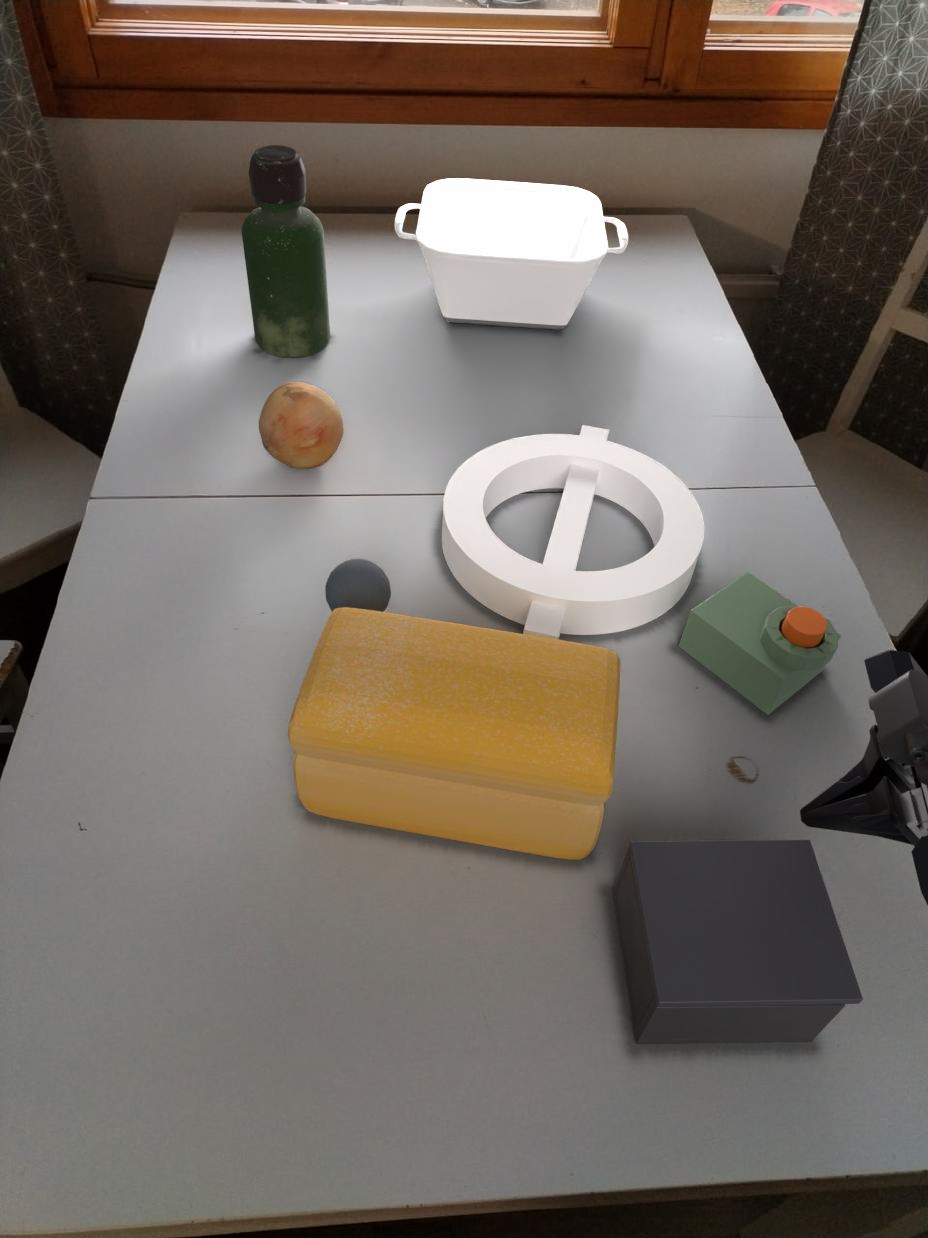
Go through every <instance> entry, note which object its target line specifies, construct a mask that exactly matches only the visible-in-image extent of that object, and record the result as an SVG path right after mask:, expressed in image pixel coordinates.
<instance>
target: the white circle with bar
mask: <svg viewBox="0 0 928 1238" xmlns="http://www.w3.org/2000/svg"><path fill="white" fill-rule="evenodd" d="M609 434H610V429H606V428H601V427H595V426H592V425H591V426H590V425H586V424H585V425H584V424H582V426H581V429H580V432H579V435H578V434H572V433H571V434H568V433H539V434H531V435H523V436H519V437H513V438H510V439H506V440H503V441H500V442H497V443H494V444H492V445H489V446H487V447H484V448H483V449H481V450H479V451H478V452H476V453H474V454H473V455H471V456H470V457H469V458H467V459H466V460H465V461H464V462H462V463H461V465H460V466H459V467H458V468H457V469H456V470H455V471H454V472H453V474H452V476H451V477H450V478H449V481H448V483H447V485H446V488H445V491H444V494H443V501H442V523H441V525H442V526H441V548H442V553H443V556H444V560H445V562H446V564H447V566H448V568H449V570H450V572H451V574H452V575H453V577H454V578H455V579H456V581H457V583H459V584H460V586H461V587H462V588H463V589H464V590H465V591H466V592H467V594H468V595H470V596H471V597H473V599H475V600H476V601H477V602H479V603H480V604H481V605H483V606H485V607H486V608H487V609H489V610H491V611H492V612H494V613H496V614H498V615H499V616H501V617H503V618H505V619H508V620H510V621H511V622H512V621H513V622H515V623H518V624H520V625H522V626H523V625H524V626H523V627H524V628H523V633H522V634H526V635H532V636H538V637H545V638H551V639H557V640H560V635H561V634H563V635H574V636H594V635H596V636H598V635H606V634H607V635H609V634H615V633H619V632H624V631H628V630H631V629H635V628H638V627H641V626H643V625H646V624H648V623H650V622H652V621H655V620H656V619H658V618H659V617H661V616H662V615H664V614H665V613H667V612H668V611H669V610H671V609H672V608H673V607H674V606H675V605H676V604H677V603H678V602H679V601H680V600H681V598H682V597H683V596H684V594H685V593H686V591H687V589H688V588H689V585H690V584H691V581H692V578H693V574H694V572H695V569H696V565H697V562H698V559H699V556H700V554H701V550H702V547H703V544H704V540H705V539H704V538H705V521H704V516H703V512H702V510H701V507H700V505H699V503H698V501H697V499H696V498H695V496H694V494H693V493H692V492H691V490H690V489H689V487H688V486H687V485H686V483H684V482H683V481H682V480H681V479H680V478H679V477H678V476H677V475H676V474H675V473H673V472H672V471H671V470H669V468H667V467H666V466H664V465H663V464H662V463H660V462H658V461H657V460H655V459H654V458H652V457H650V456H648V455H646V454H645V453H642V452H640V451H637V450H635V449H633V448H630V447H629V446H625V445H623V444H619V443H616V442H613V441H610V440H608V439H609V436H610V435H609ZM544 489H545V490H547V489H563V492H562V495H561V499H560V502H559V504H558V505H559V506H558V509H557V512H556V516H555V519H554V522H553V527H552V530H551V534H550V537H549V540H548V544H547V546H546V547H547V548H546V551H545V555H544V558H543V562H542V563H540V562H538V561H534V560H532V559H531V558H528V557H526V556H524V555H521V554H520V553H518V552H517V551H515V550H514V549H512V548H511V547H509V546H508V545H506V543H504V542H503V541H502V540H501V539H500V538H499V537H498V536H497V534H495V532H494V531H493V530H492V528H491V527H490V525H489V523H488V520H487V518H488V516H489V515H490V513H491V512H493V510H494V509H495V508H496V507H498V506H499V505H500V504H501V503H503V502H505V501H507V500H508V499H511V498H513V497H515V496H517V495H521V494H523V493H527V492H531V491H537V490H544ZM595 496H598V497H601V498H604V499H607V500H609V501H611V502H613V503H615V504H617V505H619V506H621V507H622V508H623V509H625V510H627V512H629V513H630V514H632V515H633V516H634V517H636V518H637V519H638V521H639V522H640V523H641V524H642V525H643V526H644V528H645V529H646V531H647V532H648V534H649V536H650V538H651V540H652V543H653V548H652V549H651V550H650V551H649V552H648V553H646V554H645V555H643V556H642V557H640V558H638V559H637V560H635V561H633V562H631V563H628V564H625V565H622V566H618V567H615V568H609V569H603V570H590V571H588V570H587V571H585V570H577V566H578V562H579V558H580V554H581V550H582V546H583V542H584V538H585V533H586V529H587V526H588V521H589V517H590V513H591V511H592V510H591V509H592V506H593V501H594V497H595Z"/></svg>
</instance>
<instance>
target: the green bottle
mask: <svg viewBox="0 0 928 1238" xmlns="http://www.w3.org/2000/svg"><path fill="white" fill-rule="evenodd" d="M306 172H307V171H306V168H305V165H304V162H303V158H302V157H301V155H300V154H298V153H297V150H295V149H294V148H292V147H290V146H288V145H287V146H286V145H282V144H281V145H280V144H279V145H278V144H274V145H273V144H271V145H263V146H260V147H258V148H256V149H255V150H254V152H253V153H252V155H251V157H250V161H249V169H248V177H249V178H248V179H249V184H250V190H251V195H252V196H253V199H254V204H255V205H256V206H258V207H257V208H254V209H253V210H251V211H250V212H249V214H248V215H247V216H245V219H244V221H243V223H242V225H241V226H242V227H241V231H240V232H241V237H242V247H243V254H244V262H245V269H246V277H247V285H248V293H249V301H250V302H249V303H250V309H251V310H250V311H251V317H252V326H253V333H254V339H255V344H256V345H257V346H258V347H259V348H260V349H261V351H264V352H265V353H267V354H270V355H272V356H275V357H280V358H292V359H294V358H296V359H297V358H303V357H307V356H312V355H314V354H317V353H319V352H320V351H321V350H323V349H324V348H326V347H327V346H328V345H329V343H330V339H331V329H330V328H331V327H330V312H329V311H330V310H329V297H328V280H327V279H328V277H327V263H326V247H325V245H326V244H325V234H324V233H325V231H324V226H323V224H322V222H321V219H319V218H318V217H317V215H316V214H314V212H312V211H311V209H309V208H307V207H305V206H303V205H304V204H305V203H306V194H307V178H306V177H307V176H306Z"/></svg>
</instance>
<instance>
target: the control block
mask: <svg viewBox="0 0 928 1238" xmlns="http://www.w3.org/2000/svg"><path fill="white" fill-rule="evenodd" d="M795 607H800V606H799V605H797V604H796V603H795V602H793V601H791V600H790V599H789V598H787V597H786V596H784V595H782V594H781V593H779V591H776V590H775V589H773V587H770V586H769V585H768V584H766V583H765V582H763V581H762V580H760V579H759V578H757V577H756V576H754V575H753V574H752V573H750V572H749V571H747V572H745V573H744V574H742V575H741V576H739V577H738V578H737V579H735V580H733V581H731V583H729V584H727V585H726V586H724V587H723V588H721V589H720V590H718V591H717V592H716V593H714V594H713V595H711V596H710V597H708V598H707V599H705V600H704V601H703V602H701V603H699V604H698V605H696V606H695V607H694V608H692V609H691V610H690V611H689V614H688V617H687V620H686V623H685V626H684V628H683V632H682V635H681V638H680V641H679V644H678V647H679V648H680V649H681V650H682V651H684V652H685V653H686V654H688V655H689V656H690V657H691V658H693V659H694V660H696V661H697V662H698V663H699V664H701V665H702V666H703V667H705V668H706V669H707V670H708V671H710V672H711V673H712V674H714V675H715V676H716V677H718V678H719V679H720V680H721V681H723V682H724V683H725V684H727V685H728V686H729V687H731V688H732V689H733V690H735V691H736V692H737V693H738V694H740V695H741V696H742V697H743V698H744V699H746V700H748V701H749V702H750V703H751V704H753V705H754V706H756V707H757V708H758V709H759V710H760V711H762V712H763V713H765V714H766V715H767V716H768V715H769V716H770V714H771V713H772V712H774V711H775V710H776V709H778V708H779V707H780V706H781V705H782V704H784V703H785V702H786V701H787V700H788V699H789V698H791V697H792V696H794V695H795V694H796V693H797V692H798V691H800V690H801V689H802V688H803V687H805V686H806V685H807V684H808V683H809V682H810V681H812V680H813V679H815V677H817V676H818V675H820V673H822V672H823V671H824V668H825V667H826V665H827V664H829V663H830V662H831V661H832V659H833V658H834V656H835V654H836V652H837V650H838V648H839V647H838V646H839V640H840V638H841V634H840V633H839V632H838V631H837V630H836V628H835V627H834V625H833V623H832V622H831V620H830V619H828V618H827V617H825V616H823V617H824V618H825V620H826V622H827V629H826V631H825V633H824V635H823V637H822V639H821V641H820V643H819V644H818V645H816V646H814V647H811V648H803V647H799V646H796V645H794V644H792V643H791V642H789V641H788V640H787V639H786V638H785V637H784V636H783V634H782V625H783V622H784V620H785V618H786V616H787V614H788V612H789V611H790V610H791V609H793V608H795Z"/></svg>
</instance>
